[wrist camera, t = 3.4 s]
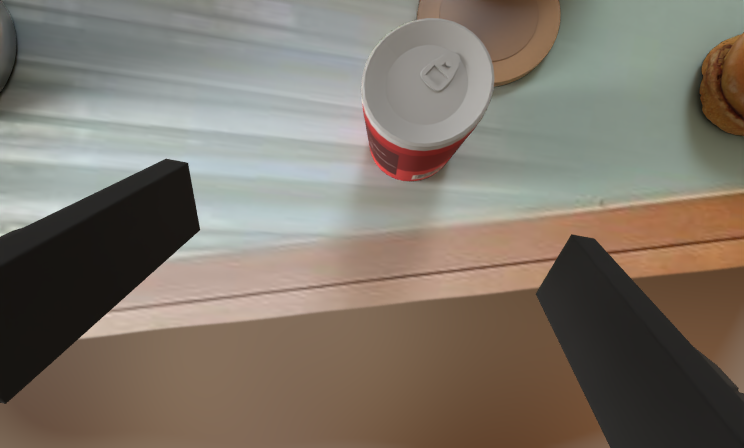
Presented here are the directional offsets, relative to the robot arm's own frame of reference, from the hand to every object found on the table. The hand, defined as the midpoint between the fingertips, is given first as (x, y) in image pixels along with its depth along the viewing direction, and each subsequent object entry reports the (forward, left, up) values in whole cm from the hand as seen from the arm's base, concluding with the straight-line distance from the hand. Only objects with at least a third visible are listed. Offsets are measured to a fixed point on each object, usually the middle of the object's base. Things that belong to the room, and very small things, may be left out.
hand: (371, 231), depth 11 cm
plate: (+5, +22, -17) cm, 29 cm away
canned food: (+1, +9, -18) cm, 20 cm away
